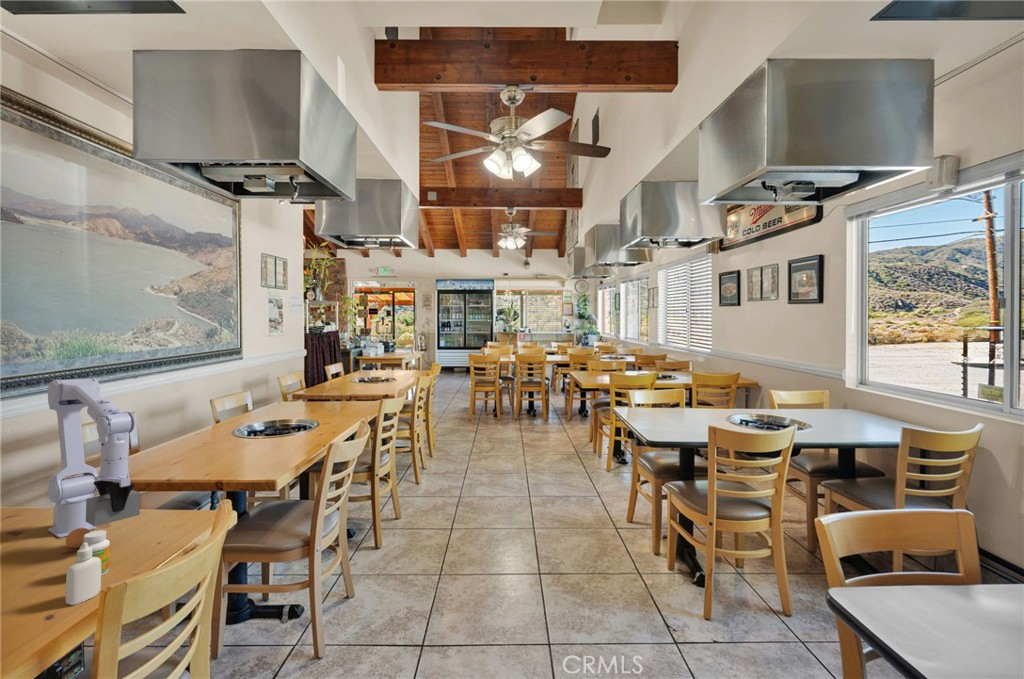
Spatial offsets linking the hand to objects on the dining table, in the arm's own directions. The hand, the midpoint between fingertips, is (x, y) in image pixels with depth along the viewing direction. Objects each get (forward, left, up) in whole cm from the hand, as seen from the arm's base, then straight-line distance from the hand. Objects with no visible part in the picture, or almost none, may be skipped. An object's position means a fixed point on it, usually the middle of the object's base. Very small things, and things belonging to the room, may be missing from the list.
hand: (113, 508), depth 122 cm
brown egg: (-7, -5, -8) cm, 12 cm away
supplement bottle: (+14, -8, -11) cm, 19 cm away
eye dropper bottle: (+25, -13, -11) cm, 30 cm away
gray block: (0, 0, -3) cm, 3 cm away
